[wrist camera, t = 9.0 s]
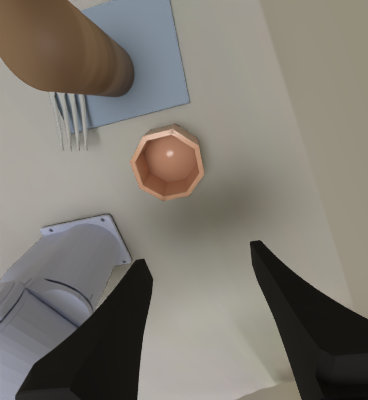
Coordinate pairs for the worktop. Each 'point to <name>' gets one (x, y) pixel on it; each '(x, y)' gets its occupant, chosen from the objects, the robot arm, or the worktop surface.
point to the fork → (66, 119)
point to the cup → (168, 162)
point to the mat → (136, 62)
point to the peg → (61, 49)
